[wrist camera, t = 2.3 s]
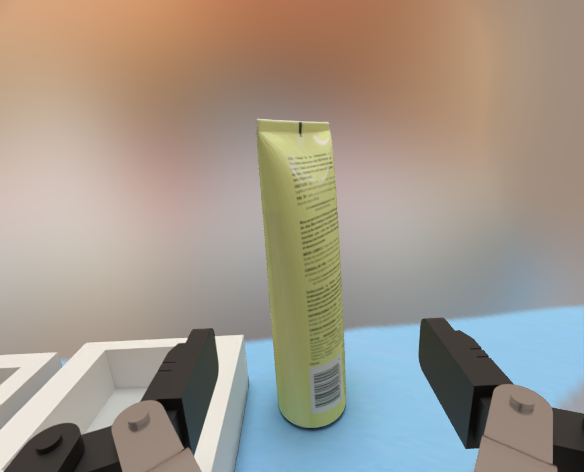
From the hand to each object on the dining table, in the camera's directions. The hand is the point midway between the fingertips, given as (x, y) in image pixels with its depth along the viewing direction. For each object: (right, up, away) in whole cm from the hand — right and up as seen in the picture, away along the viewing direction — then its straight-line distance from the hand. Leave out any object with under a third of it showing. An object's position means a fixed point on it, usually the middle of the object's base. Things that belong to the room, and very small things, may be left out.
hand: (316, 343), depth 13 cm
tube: (+1, -8, +11) cm, 14 cm away
